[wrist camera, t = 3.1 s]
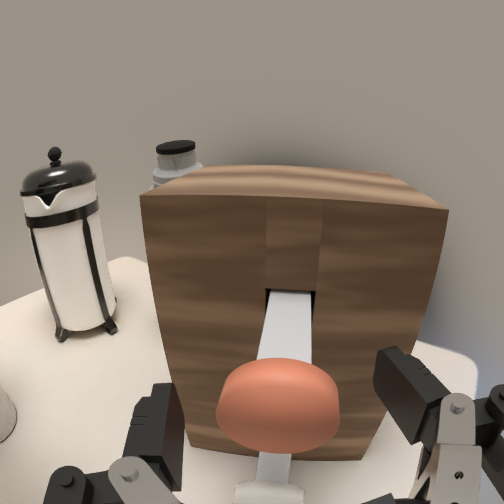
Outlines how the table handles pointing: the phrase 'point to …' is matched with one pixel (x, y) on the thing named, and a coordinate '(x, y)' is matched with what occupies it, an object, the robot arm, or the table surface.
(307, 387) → the salmon round knob
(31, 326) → the table surface
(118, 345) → the table surface
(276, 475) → the grey plunger
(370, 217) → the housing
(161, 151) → the thermos bottle
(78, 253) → the coffee press
